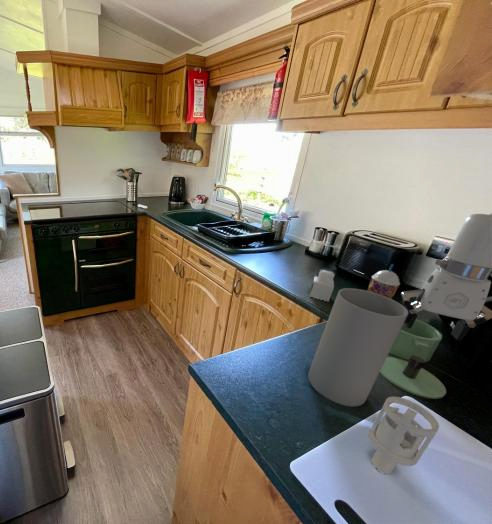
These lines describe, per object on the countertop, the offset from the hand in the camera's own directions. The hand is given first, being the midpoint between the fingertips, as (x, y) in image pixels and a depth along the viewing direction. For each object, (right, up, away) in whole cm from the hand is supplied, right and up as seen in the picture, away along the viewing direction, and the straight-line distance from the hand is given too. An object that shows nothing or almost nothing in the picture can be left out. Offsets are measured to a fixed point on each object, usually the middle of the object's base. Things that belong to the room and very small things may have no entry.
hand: (430, 331), depth 72 cm
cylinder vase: (-24, -15, +1) cm, 28 cm away
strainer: (-27, -22, -17) cm, 39 cm away
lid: (-1, -14, +5) cm, 15 cm away
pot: (+9, -10, +18) cm, 23 cm away
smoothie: (+17, -2, +40) cm, 43 cm away
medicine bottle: (+2, +3, +49) cm, 49 cm away
